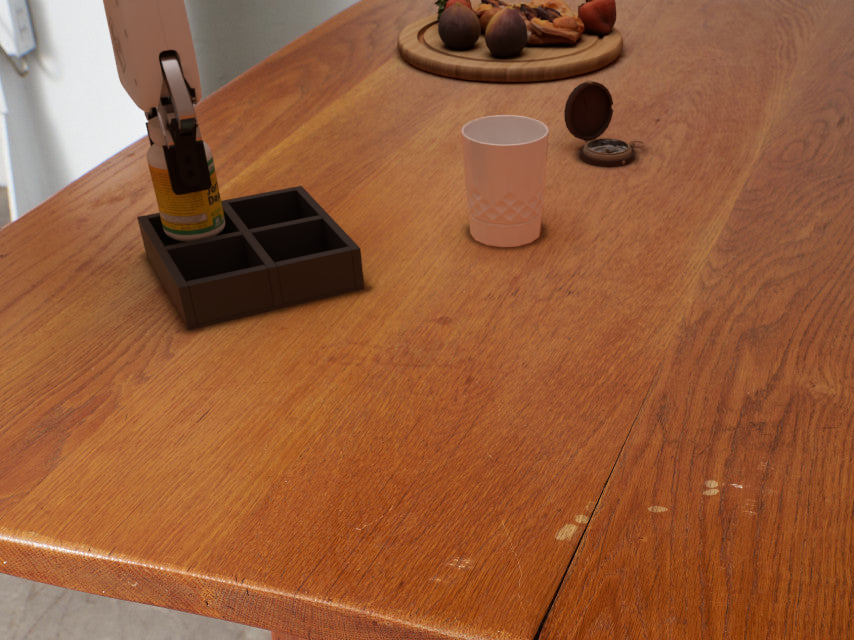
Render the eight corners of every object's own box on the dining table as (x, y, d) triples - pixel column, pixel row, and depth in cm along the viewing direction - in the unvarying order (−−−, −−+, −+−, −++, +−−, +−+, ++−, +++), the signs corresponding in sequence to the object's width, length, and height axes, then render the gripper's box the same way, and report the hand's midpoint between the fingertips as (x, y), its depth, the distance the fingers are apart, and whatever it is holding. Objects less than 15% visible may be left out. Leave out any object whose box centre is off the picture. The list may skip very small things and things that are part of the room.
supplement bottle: (166, 220, 91) (141, 111, 85) (227, 215, 92) (206, 107, 86) (162, 245, 87) (135, 133, 81) (225, 240, 88) (203, 128, 82)
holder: (188, 333, 82) (178, 287, 80) (147, 259, 93) (136, 216, 90) (365, 291, 88) (360, 247, 85) (307, 226, 98) (301, 185, 96)
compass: (600, 173, 109) (604, 104, 104) (560, 150, 114) (562, 83, 109) (659, 159, 112) (666, 91, 107) (618, 138, 117) (622, 72, 113)
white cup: (517, 211, 101) (518, 109, 95) (562, 239, 96) (566, 133, 90) (449, 229, 98) (445, 124, 92) (492, 259, 93) (490, 151, 86)
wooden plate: (628, 26, 155) (633, -34, 149) (614, 91, 130) (619, 23, 125) (424, 18, 158) (421, -41, 153) (373, 80, 134) (368, 12, 129)
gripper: (60, -76, 79) (118, 154, 91) (102, -33, 68) (162, 224, 79) (157, -84, 82) (201, 140, 94) (212, -45, 70) (255, 206, 82)
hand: (183, 176), depth 86 cm, fingers closed on supplement bottle, 5 cm apart
